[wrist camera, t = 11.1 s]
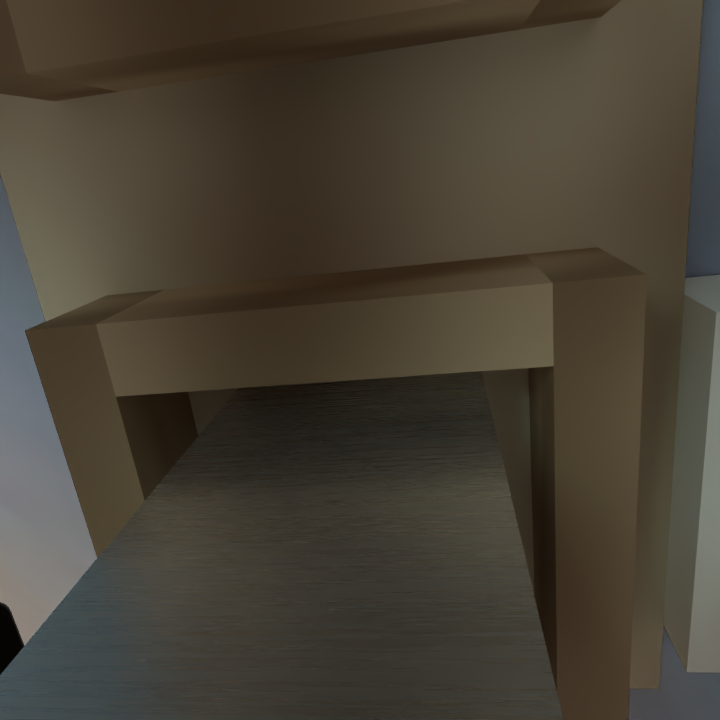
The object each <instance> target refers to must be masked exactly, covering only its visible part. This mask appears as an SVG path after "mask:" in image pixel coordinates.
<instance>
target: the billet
mask: <svg viewBox="0 0 720 720" xmlns="http://www.w3.org/2000/svg"><path fill="white" fill-rule="evenodd" d="M0 720H563V717H562V712H561V708H560V704H559V699H558V695H557V691H556V687H555V682H554V678H553V674H552V669H551V665H550V661H549V657H548V652H547V648H546V644H545V639H544V635H543V631H542V627H541V622H540V618H539V614H538V609H537V605H536V601H535V597H534V592H533V588H532V584H531V579H530V575H529V571H528V567H527V562H526V558H525V554H524V550H523V545H522V541H521V537H520V532H519V528H518V524H517V520H516V515H515V511H514V507H513V502H512V498H511V494H510V490H509V485H508V481H507V477H506V472H505V468H504V464H503V460H502V455H501V451H500V447H499V442H498V438H497V434H496V430H495V425H494V421H493V417H492V412H491V408H490V404H489V400H488V395H487V391H486V387H485V383H484V378H483V374H482V371H477V372H463V373H449V374H434V375H420V376H405V377H391V378H377V379H362V380H348V381H334V382H319V383H305V384H291V385H276V386H262V387H247V388H238V389H237V390H236V391H235V392H234V394H233V395H232V396H231V397H230V398H229V400H228V401H227V402H226V403H225V404H224V406H223V407H222V408H221V409H220V411H219V412H218V413H217V414H216V415H215V417H214V418H213V419H212V420H211V421H210V423H209V424H208V425H207V426H206V427H205V429H204V430H203V431H202V432H201V433H200V435H199V436H198V437H197V438H196V440H195V441H194V442H193V443H192V444H191V446H190V447H189V448H188V449H187V450H186V452H185V453H184V454H183V455H182V456H181V458H180V459H179V460H178V461H177V462H176V464H175V465H174V466H173V467H172V468H171V470H170V471H169V472H168V473H167V475H166V476H165V477H164V478H163V479H162V481H161V482H160V483H159V484H158V485H157V487H156V488H155V489H154V490H153V491H152V493H151V494H150V495H149V496H148V497H147V499H146V500H145V501H144V502H143V504H142V505H141V506H140V507H139V508H138V510H137V511H136V512H135V513H134V514H133V516H132V517H131V518H130V519H129V520H128V522H127V523H126V524H125V525H124V526H123V528H122V529H121V530H120V531H119V532H118V534H117V535H116V536H115V537H114V539H113V540H112V541H111V542H110V543H109V545H108V546H107V547H106V548H105V549H104V551H103V552H102V553H101V554H100V555H99V557H98V558H97V559H96V560H95V561H94V563H93V564H92V565H91V566H90V568H89V569H88V570H87V571H86V572H85V574H84V575H83V576H82V577H81V578H80V580H79V581H78V582H77V583H76V584H75V586H74V587H73V588H72V589H71V590H70V592H69V593H68V594H67V595H66V596H65V598H64V599H63V600H62V601H61V603H60V604H59V605H58V606H57V607H56V609H55V610H54V611H53V612H52V613H51V615H50V616H49V617H48V618H47V619H46V621H45V622H44V623H43V624H42V625H41V627H40V628H39V629H38V630H37V631H36V633H35V634H34V635H33V636H32V638H31V639H30V640H29V641H28V642H27V644H26V645H25V646H24V647H23V648H22V650H21V651H20V652H19V653H18V654H17V656H16V657H15V658H14V659H13V660H12V662H11V663H10V664H9V665H8V667H7V668H6V669H5V670H4V671H3V673H2V674H1V675H0Z"/></svg>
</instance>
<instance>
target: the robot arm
mask: <svg viewBox="0 0 720 720" xmlns="http://www.w3.org/2000/svg"><path fill="white" fill-rule="evenodd" d="M23 647H24V644H23V641H22V638H21V636H20V633H19V631H18V628H17V626H16V623H15V621H14V618H13V615H12V613H11V611H10V609H9V607H8V606H7V605H5V604H4V603H1V602H0V675H1V674H2V673H3V671H4V670H5V669H6V668H7V667H8V665H9V664H10V663H11V662H12V660H13V659H14V658H15V657H16V656H17V654H18V653H19V652H20V651H21V650H22V648H23Z"/></svg>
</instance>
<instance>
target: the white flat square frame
mask: <svg viewBox="0 0 720 720" xmlns="http://www.w3.org/2000/svg"><path fill="white" fill-rule="evenodd" d="M663 625H664V627H665V629H666V631H667V633H668V635H669V637H670V639H671V642H672V644H673V646H674V648H675V650H676V652H677V654H678V656H679V658H680V660H681V662H682V664H683V666H684V668H685V670H686V672H695V673H720V275H712V276H700V277H689V278H685V291H684V307H683V323H682V339H681V354H680V370H679V386H678V402H677V418H676V433H675V449H674V465H673V481H672V496H671V512H670V528H669V544H668V559H667V575H666V591H665V607H664V622H663Z"/></svg>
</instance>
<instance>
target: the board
mask: <svg viewBox="0 0 720 720" xmlns="http://www.w3.org/2000/svg"><path fill="white" fill-rule="evenodd" d="M702 8H703V0H0V174H1V177H2V181H3V184H4V187H5V190H6V194H7V197H8V200H9V204H10V207H11V210H12V213H13V217H14V220H15V223H16V226H17V230H18V233H19V236H20V240H21V243H22V246H23V249H24V253H25V256H26V259H27V262H28V266H29V269H30V272H31V276H32V279H33V282H34V285H35V289H36V292H37V295H38V299H39V302H40V305H41V308H42V312H43V315H44V318H45V321H46V322H44V323H41V324H39V325H37V326H35V327H32V328H30V329H28V330H25V332H26V335H27V339H28V342H29V345H30V348H31V351H32V354H33V357H34V361H35V364H36V367H37V370H38V373H39V376H40V379H41V382H42V386H43V389H44V392H45V395H46V398H47V401H48V404H49V408H50V411H51V414H52V417H53V420H54V423H55V426H56V430H57V433H58V436H59V439H60V442H61V445H62V448H63V451H64V455H65V458H66V461H67V464H68V467H69V470H70V473H71V477H72V480H73V483H74V486H75V489H76V492H77V495H78V499H79V502H80V505H81V508H82V511H83V514H84V517H85V521H86V524H87V527H88V530H89V533H90V536H91V539H92V542H93V546H94V549H95V552H96V555H97V558H98V557H99V555H100V554H101V553H102V552H103V551H104V549H105V548H106V547H107V546H108V545H109V543H110V542H111V541H112V540H113V539H114V537H115V536H116V535H117V534H118V532H119V531H120V530H121V529H122V528H123V526H124V525H125V524H126V523H127V522H128V520H129V519H130V518H131V517H132V516H133V514H134V513H135V512H136V511H137V510H138V508H139V507H140V506H141V505H142V504H143V502H144V501H145V500H146V499H147V497H148V496H149V495H150V494H151V493H152V491H153V490H154V489H155V488H156V487H157V485H158V484H159V483H160V482H161V481H162V479H163V478H164V477H165V476H166V475H167V473H168V472H169V471H170V470H171V468H172V467H173V466H174V465H175V464H176V462H177V461H178V460H179V459H180V458H181V456H182V455H183V454H184V453H185V452H186V450H187V449H188V448H189V447H190V446H191V444H192V443H193V442H194V441H195V440H196V438H197V437H198V436H199V435H200V433H201V432H202V431H203V430H204V429H205V427H206V426H207V425H208V424H209V423H210V421H211V420H212V419H213V418H214V417H215V415H216V414H217V413H218V412H219V411H220V409H221V408H222V407H223V406H224V404H225V403H226V402H227V401H228V400H229V398H230V397H231V396H232V395H233V394H234V392H235V391H236V390H237V389H238V388H247V387H262V386H276V385H291V384H305V383H319V382H334V381H348V380H362V379H377V378H391V377H405V376H420V375H434V374H449V373H463V372H477V371H482V374H483V378H484V383H485V387H486V391H487V395H488V400H489V404H490V408H491V412H492V417H493V421H494V425H495V430H496V434H497V438H498V442H499V447H500V451H501V455H502V460H503V464H504V468H505V472H506V477H507V481H508V485H509V490H510V494H511V498H512V502H513V507H514V511H515V515H516V520H517V524H518V528H519V532H520V537H521V541H522V545H523V550H524V554H525V558H526V562H527V567H528V571H529V575H530V579H531V584H532V588H533V592H534V597H535V601H536V605H537V609H538V614H539V618H540V622H541V627H542V631H543V635H544V639H545V644H546V648H547V652H548V657H549V661H550V665H551V669H552V674H553V678H554V682H555V687H556V691H557V695H558V699H559V704H560V708H561V712H562V717H563V720H628V715H629V691H630V689H659V686H660V670H661V654H662V638H663V622H664V607H665V591H666V575H667V559H668V544H669V528H670V512H671V496H672V481H673V465H674V449H675V433H676V418H677V402H678V386H679V370H680V354H681V339H682V323H683V307H684V291H685V276H686V260H687V244H688V228H689V213H690V197H691V181H692V165H693V150H694V134H695V118H696V102H697V87H698V71H699V55H700V39H701V23H702Z"/></svg>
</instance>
